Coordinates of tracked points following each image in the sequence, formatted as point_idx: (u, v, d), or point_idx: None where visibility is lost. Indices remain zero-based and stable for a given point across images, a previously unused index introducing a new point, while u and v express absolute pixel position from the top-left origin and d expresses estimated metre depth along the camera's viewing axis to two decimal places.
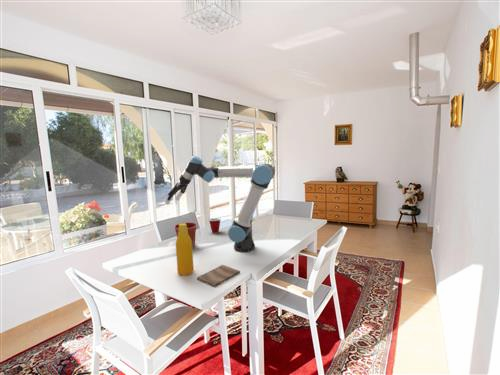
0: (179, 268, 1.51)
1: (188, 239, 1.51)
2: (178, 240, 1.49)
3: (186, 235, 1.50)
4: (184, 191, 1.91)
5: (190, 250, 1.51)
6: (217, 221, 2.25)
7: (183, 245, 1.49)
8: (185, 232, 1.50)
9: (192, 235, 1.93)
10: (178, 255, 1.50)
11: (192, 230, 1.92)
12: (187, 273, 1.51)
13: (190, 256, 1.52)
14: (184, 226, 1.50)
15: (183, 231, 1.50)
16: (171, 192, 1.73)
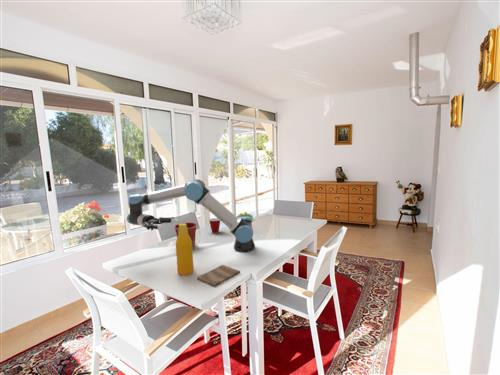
0: (179, 268, 1.51)
1: (188, 239, 1.51)
2: (178, 240, 1.49)
3: (186, 235, 1.50)
4: (172, 218, 1.68)
5: (190, 250, 1.51)
6: (217, 221, 2.25)
7: (183, 245, 1.49)
8: (185, 232, 1.50)
9: (192, 235, 1.93)
10: (178, 255, 1.50)
11: (192, 230, 1.92)
12: (187, 273, 1.51)
13: (190, 256, 1.52)
14: (184, 226, 1.50)
15: (183, 231, 1.50)
16: (146, 227, 1.53)
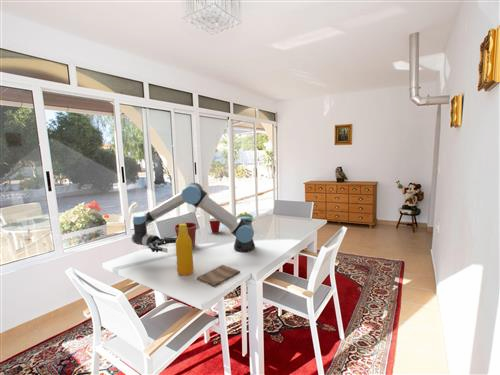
0: (179, 268, 1.51)
1: (188, 239, 1.51)
2: (178, 240, 1.49)
3: (186, 235, 1.50)
4: (176, 238, 1.67)
5: (190, 250, 1.51)
6: (217, 221, 2.25)
7: (183, 245, 1.49)
8: (185, 232, 1.50)
9: (192, 235, 1.93)
10: (178, 255, 1.50)
11: (192, 230, 1.92)
12: (187, 273, 1.51)
13: (190, 256, 1.52)
14: (184, 226, 1.50)
15: (183, 231, 1.50)
16: (151, 249, 1.53)
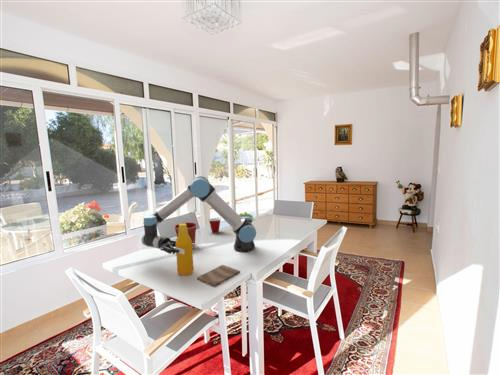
0: (179, 268, 1.51)
1: (188, 239, 1.51)
2: (178, 240, 1.49)
3: (186, 235, 1.50)
4: None
5: (190, 250, 1.51)
6: (217, 221, 2.25)
7: (183, 245, 1.49)
8: (185, 232, 1.50)
9: (192, 235, 1.93)
10: (178, 255, 1.50)
11: (192, 230, 1.92)
12: (187, 273, 1.51)
13: (190, 256, 1.52)
14: (184, 226, 1.50)
15: (183, 231, 1.50)
16: (167, 250, 1.49)
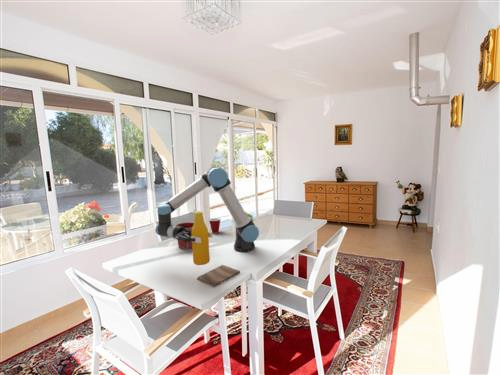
0: (195, 258, 1.46)
1: (204, 227, 1.45)
2: (194, 228, 1.44)
3: (202, 223, 1.45)
4: None
5: (206, 239, 1.46)
6: (217, 221, 2.25)
7: (199, 233, 1.43)
8: (201, 220, 1.45)
9: None
10: (194, 244, 1.45)
11: None
12: (203, 263, 1.46)
13: (206, 245, 1.46)
14: (200, 214, 1.44)
15: (199, 219, 1.44)
16: (183, 239, 1.44)
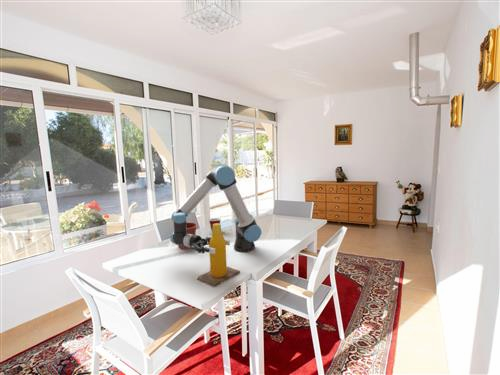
0: (213, 270, 1.45)
1: (222, 240, 1.44)
2: (212, 241, 1.43)
3: (220, 235, 1.44)
4: None
5: (224, 251, 1.45)
6: (217, 221, 2.25)
7: (218, 245, 1.42)
8: (219, 232, 1.44)
9: None
10: (212, 256, 1.44)
11: (192, 230, 1.92)
12: (221, 275, 1.45)
13: (224, 257, 1.46)
14: (218, 226, 1.44)
15: (217, 231, 1.43)
16: (197, 249, 1.42)
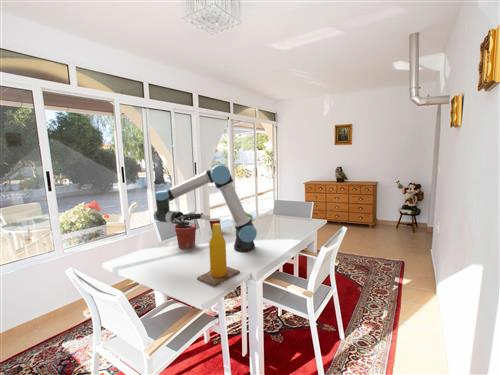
0: (213, 270, 1.45)
1: (222, 240, 1.45)
2: (212, 241, 1.43)
3: (220, 235, 1.44)
4: (201, 214, 1.61)
5: (224, 251, 1.45)
6: (217, 221, 2.25)
7: (218, 245, 1.42)
8: (219, 232, 1.44)
9: (192, 235, 1.93)
10: (212, 256, 1.44)
11: (192, 230, 1.92)
12: (221, 275, 1.45)
13: (224, 257, 1.46)
14: (218, 226, 1.44)
15: (217, 231, 1.43)
16: (177, 223, 1.47)
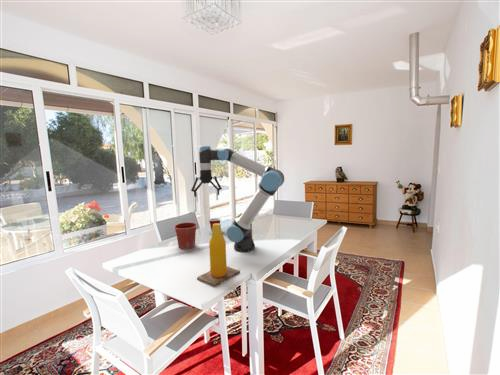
0: (213, 270, 1.45)
1: (222, 240, 1.45)
2: (212, 241, 1.43)
3: (220, 235, 1.44)
4: (219, 188, 1.80)
5: (224, 251, 1.45)
6: (217, 221, 2.25)
7: (218, 245, 1.42)
8: (219, 232, 1.44)
9: (192, 235, 1.93)
10: (212, 256, 1.44)
11: (192, 230, 1.92)
12: (221, 275, 1.45)
13: (224, 257, 1.46)
14: (218, 226, 1.44)
15: (217, 231, 1.43)
16: (192, 187, 1.76)
